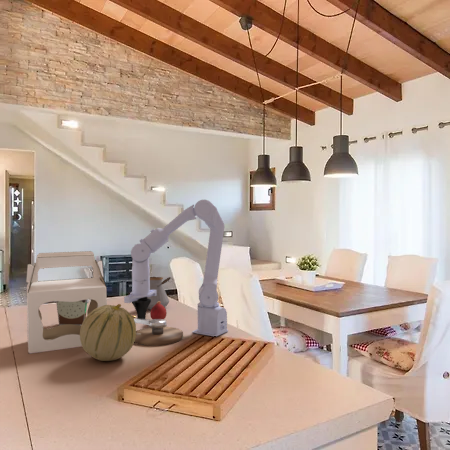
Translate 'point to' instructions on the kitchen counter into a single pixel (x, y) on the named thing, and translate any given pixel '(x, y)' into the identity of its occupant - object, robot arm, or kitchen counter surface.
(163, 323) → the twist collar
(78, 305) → the food container
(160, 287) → the coffee pot
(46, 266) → the gable box
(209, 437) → the kitchen counter surface
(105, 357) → the cantaloupe
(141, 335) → the base
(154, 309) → the onion
